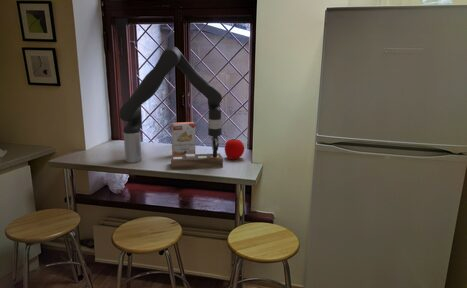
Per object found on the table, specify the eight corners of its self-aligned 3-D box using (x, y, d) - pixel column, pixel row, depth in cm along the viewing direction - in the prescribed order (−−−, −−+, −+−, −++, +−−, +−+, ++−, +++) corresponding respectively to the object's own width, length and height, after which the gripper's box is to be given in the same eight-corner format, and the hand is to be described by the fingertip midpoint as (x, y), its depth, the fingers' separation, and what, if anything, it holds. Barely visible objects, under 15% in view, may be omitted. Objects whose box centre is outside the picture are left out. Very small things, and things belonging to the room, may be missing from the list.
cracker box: (173, 157, 205) (173, 124, 200) (171, 155, 210) (170, 122, 205) (195, 155, 210) (195, 122, 205) (193, 153, 215) (192, 121, 211)
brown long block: (170, 163, 192) (170, 154, 191) (219, 161, 198) (219, 153, 197) (171, 169, 182) (171, 160, 181) (222, 166, 187) (222, 158, 186)
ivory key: (173, 162, 189) (173, 157, 189) (182, 161, 190) (182, 156, 190) (173, 164, 185) (173, 159, 184) (182, 164, 185) (182, 159, 185)
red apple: (220, 159, 203) (220, 139, 200) (230, 155, 212) (230, 135, 209) (238, 162, 196) (238, 141, 194) (247, 158, 206) (247, 138, 203)
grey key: (185, 159, 190) (185, 154, 190) (194, 158, 191) (194, 153, 191) (186, 161, 186) (186, 156, 185) (195, 161, 186) (195, 155, 186)
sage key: (197, 161, 192) (197, 156, 191) (206, 160, 193) (206, 155, 192) (198, 163, 187) (198, 158, 187) (207, 163, 188) (207, 158, 187)
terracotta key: (209, 160, 193) (209, 155, 193) (218, 160, 194) (218, 155, 194) (211, 163, 189) (211, 157, 188) (219, 162, 190) (219, 157, 189)
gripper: (206, 125, 192) (207, 154, 196) (209, 129, 180) (209, 160, 184) (219, 124, 194) (219, 153, 198) (223, 128, 181) (223, 159, 185)
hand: (214, 156), depth 191 cm, fingers closed
